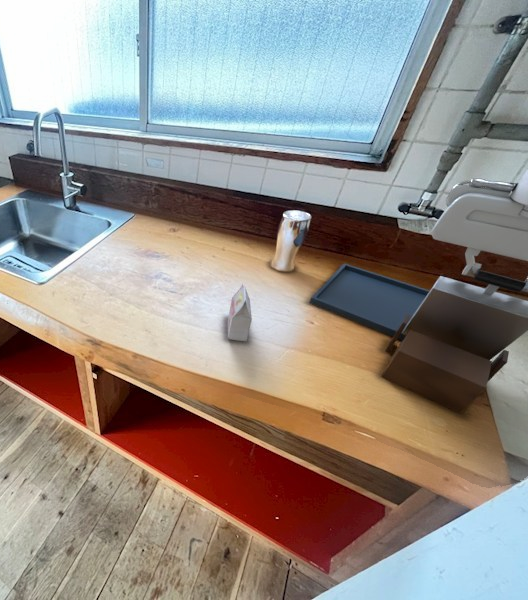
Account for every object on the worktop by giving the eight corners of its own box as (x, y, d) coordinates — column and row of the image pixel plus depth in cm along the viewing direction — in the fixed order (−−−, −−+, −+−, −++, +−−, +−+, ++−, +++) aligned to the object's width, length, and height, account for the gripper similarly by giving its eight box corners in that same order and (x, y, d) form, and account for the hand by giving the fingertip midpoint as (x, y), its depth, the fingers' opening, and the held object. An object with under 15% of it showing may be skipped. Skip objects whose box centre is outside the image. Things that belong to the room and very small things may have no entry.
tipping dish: (482, 365, 57) (489, 351, 57) (557, 307, 43) (564, 289, 43) (401, 333, 64) (408, 321, 65) (442, 274, 50) (450, 259, 51)
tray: (475, 311, 72) (480, 306, 71) (460, 364, 60) (465, 358, 59) (342, 268, 88) (344, 263, 87) (309, 302, 76) (311, 297, 75)
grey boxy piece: (244, 320, 72) (253, 284, 66) (246, 341, 67) (255, 303, 61) (227, 318, 73) (235, 282, 67) (228, 339, 68) (235, 301, 62)
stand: (480, 380, 57) (509, 351, 52) (471, 419, 51) (503, 390, 47) (389, 342, 65) (407, 314, 61) (372, 372, 59) (391, 343, 55)
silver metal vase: (296, 274, 86) (313, 221, 77) (268, 270, 88) (282, 218, 79) (295, 261, 91) (311, 211, 82) (269, 258, 94) (282, 208, 85)
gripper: (455, 180, 45) (407, 266, 53) (717, 217, 33) (602, 321, 41) (462, 171, 48) (416, 253, 56) (700, 201, 36) (598, 300, 44)
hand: (496, 282), depth 48 cm, fingers closed on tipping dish, 5 cm apart
